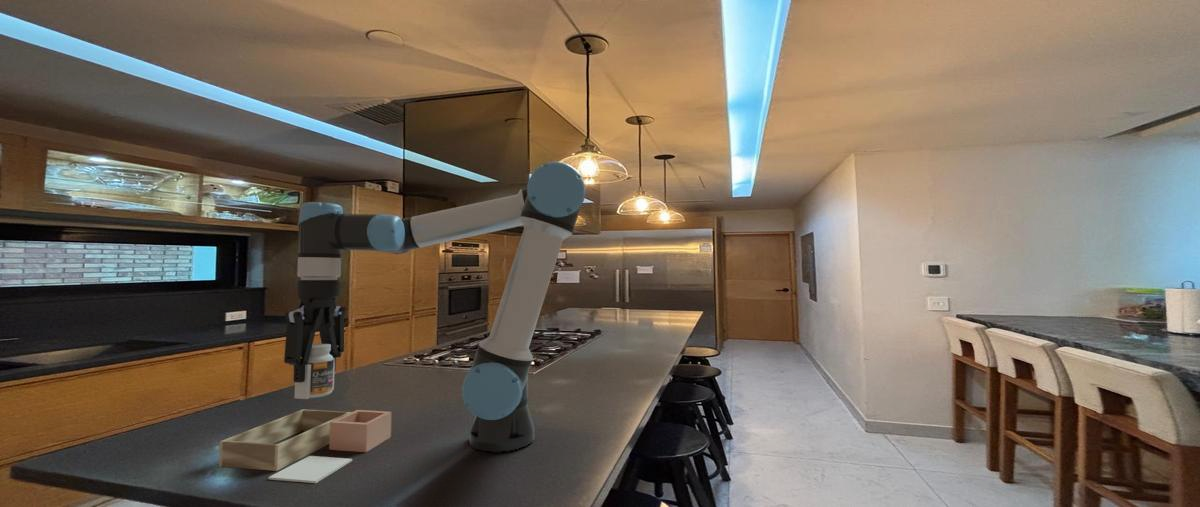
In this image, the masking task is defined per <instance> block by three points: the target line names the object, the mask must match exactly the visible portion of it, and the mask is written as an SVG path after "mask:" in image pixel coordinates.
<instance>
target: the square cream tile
mask: <svg viewBox="0 0 1200 507" xmlns="http://www.w3.org/2000/svg"><path fill="white" fill-rule="evenodd" d="M352 462H353V458H345V457H333V456H332V457H329V456H319V455H317V456H316V455H307V456H305V457H303V458H301V459H299V460H298V461H296V462H294V463H292V464H290V465H288V466H286V467H284V469H283V468H282V469H280V471H279V470H278V471H277V472H276V473H274V474H272V475H270V476H268V478H267V479H268V480H272V481H282V482H284V481H285V482H297V483H298V482H299V483H308V484H309V483H310V484H317V483H319V482H320V481H322V480H323V479H325V478H327V477H329V476H330V475H331V474H333V473H336V471H338V470H340V469H341V468H343V467H344V466H347V465H348V464H349V463H352Z"/></svg>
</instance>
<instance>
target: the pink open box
mask: <svg viewBox="0 0 1200 507" xmlns="http://www.w3.org/2000/svg"><path fill="white" fill-rule="evenodd" d="M392 412H393V411H383V410H382V411H381V410H366V409H365V410H364V409H357V410H354V411H351V413H349V414H347V415H345V416H343V417H341V418H339V419H336V420H334V421H332V422H330V441H329V444H328V445H329V446H328V450H330V451H331V450H332V451H344V452H359V453H367V452H369V451H371V450H373V449H374V448H375V447H377V446H379V445H381V444H382V443H384V442H385V441H387V440H389V439H390V438H392Z"/></svg>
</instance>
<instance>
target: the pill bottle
mask: <svg viewBox="0 0 1200 507" xmlns="http://www.w3.org/2000/svg"><path fill="white" fill-rule="evenodd" d="M330 350H331V345H330V344H322V343H313V344H312V348H311V352H310V356H309V360H308V363H307V364H311V385H310V398H309V399H315V398H320V397H321V398H322V397H325V396H329V395H330V394H332V392H333V390H334V389H333V363H334V359H333V356H332V355H330V354H329V352H330ZM332 389H333V390H332Z"/></svg>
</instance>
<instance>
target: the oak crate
mask: <svg viewBox="0 0 1200 507" xmlns="http://www.w3.org/2000/svg"><path fill="white" fill-rule="evenodd" d="M349 413H352V411H338V410H323V409H305V408H303V409H301V410H297V411H295V412H292V413H290V414H288V415H285V416H282V417H280V418H277V419H275V420H272V421H270V422H267V423H264V424H261V425H259V426H256V427H253V428H252V429H248V430H246V431H244V432H239V433H238V434H236V435H233V436H231V437H227V438H225V439H223V440H220V441H219V460H218V461H219V462H218V464H219V465H218V467H223V468H224V467H225V468H235V469H249V470H259V471H273V472H279V470H280V471H281V470H283V468H284V469H285V468H287V467H289V466H290V465H292V464H294V463H296V462H298V461H300V460H302V459H304V458H306V457H308V456H310V454H312V453H314V452H316V451H318V450H320V449H322V448H323V447H326V446H327V445H329V441H330V422H332V421H334V420H336V419H339V418H341V417H343V416H345V415H347V414H349ZM300 432H302V433H300ZM298 433H299V434H298ZM296 434H297V435H296ZM293 435H295V436H293ZM291 436H293V437H291ZM289 437H291V438H289ZM287 438H288V439H287ZM285 439H286V440H285ZM282 440H284V441H282ZM280 441H282V442H280ZM278 442H279V443H278Z"/></svg>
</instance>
